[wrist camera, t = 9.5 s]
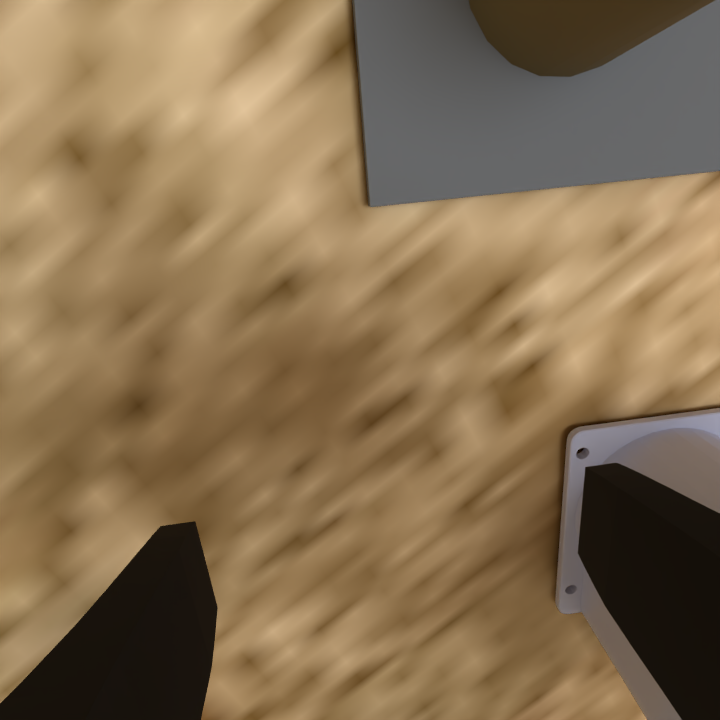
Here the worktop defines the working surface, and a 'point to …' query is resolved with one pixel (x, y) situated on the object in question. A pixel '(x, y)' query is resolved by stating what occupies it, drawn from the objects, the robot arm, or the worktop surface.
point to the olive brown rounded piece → (574, 30)
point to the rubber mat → (525, 107)
